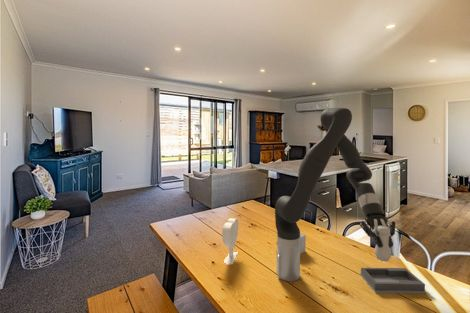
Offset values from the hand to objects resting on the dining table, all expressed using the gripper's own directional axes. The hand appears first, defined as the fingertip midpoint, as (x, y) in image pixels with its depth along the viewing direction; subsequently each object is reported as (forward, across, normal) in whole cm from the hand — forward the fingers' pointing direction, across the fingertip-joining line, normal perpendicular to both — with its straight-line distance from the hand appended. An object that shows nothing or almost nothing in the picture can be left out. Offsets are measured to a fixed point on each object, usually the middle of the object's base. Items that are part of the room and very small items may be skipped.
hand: (385, 246), depth 93 cm
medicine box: (-8, -28, +30) cm, 42 cm away
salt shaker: (+3, 0, +6) cm, 6 cm away
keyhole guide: (+10, +3, +12) cm, 16 cm away
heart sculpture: (-4, -61, +26) cm, 66 cm away
